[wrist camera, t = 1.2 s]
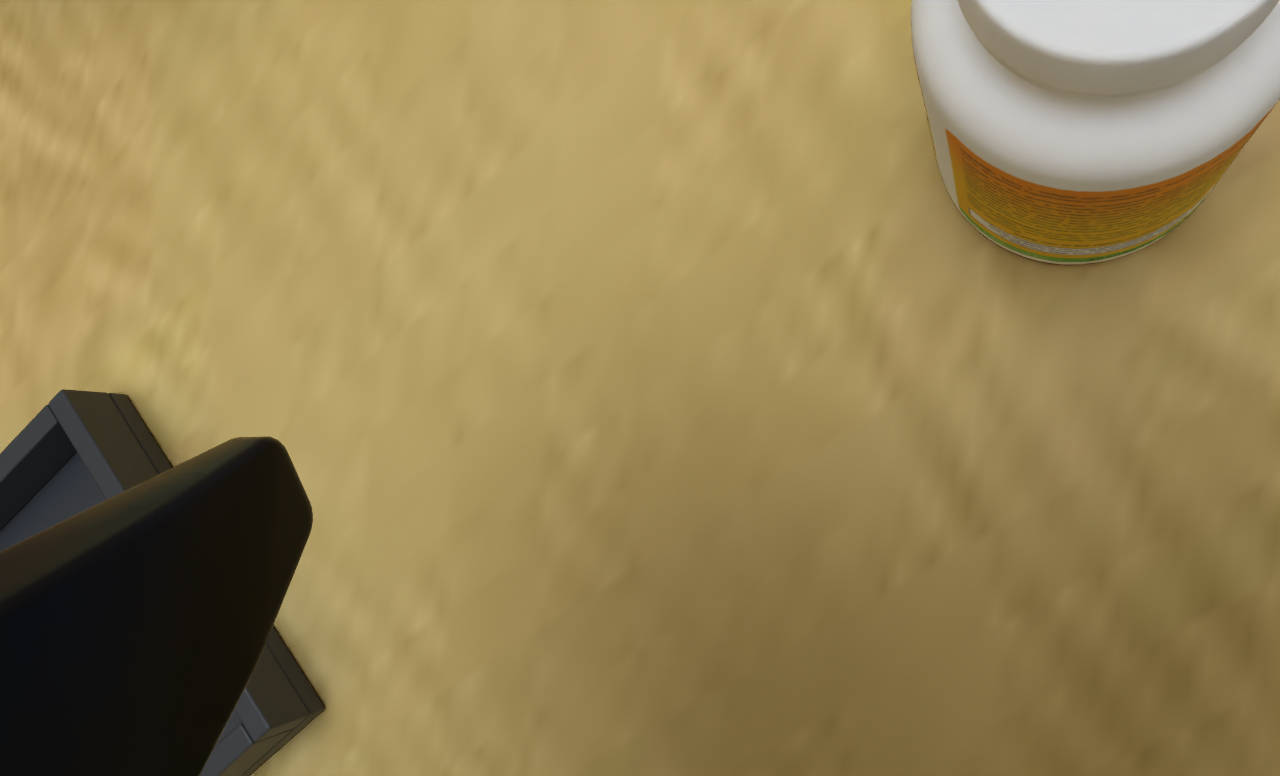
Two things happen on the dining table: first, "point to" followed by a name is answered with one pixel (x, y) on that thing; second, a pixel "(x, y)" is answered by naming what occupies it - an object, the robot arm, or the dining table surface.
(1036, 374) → the dining table surface
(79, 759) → the robot arm
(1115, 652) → the dining table surface
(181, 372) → the dining table surface
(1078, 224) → the supplement bottle
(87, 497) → the tray
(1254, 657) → the dining table surface
